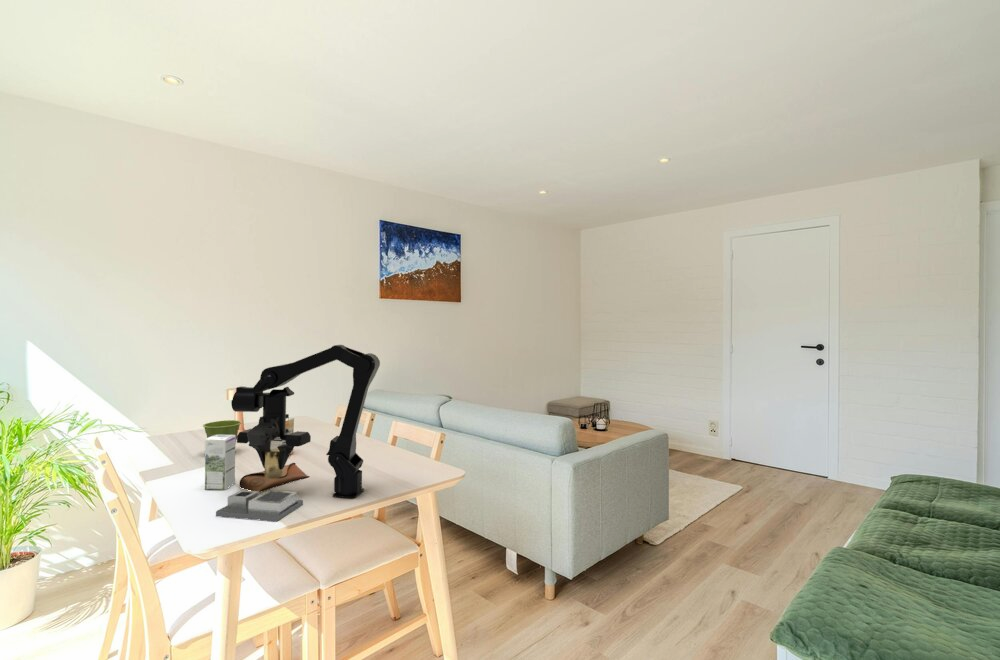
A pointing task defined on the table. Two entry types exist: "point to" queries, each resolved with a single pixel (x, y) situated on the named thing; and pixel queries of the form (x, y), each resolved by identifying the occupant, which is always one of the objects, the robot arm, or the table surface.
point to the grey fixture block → (261, 505)
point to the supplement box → (290, 430)
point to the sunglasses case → (261, 483)
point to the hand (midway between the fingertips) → (273, 468)
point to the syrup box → (219, 462)
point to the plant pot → (222, 428)
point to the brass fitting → (272, 464)
